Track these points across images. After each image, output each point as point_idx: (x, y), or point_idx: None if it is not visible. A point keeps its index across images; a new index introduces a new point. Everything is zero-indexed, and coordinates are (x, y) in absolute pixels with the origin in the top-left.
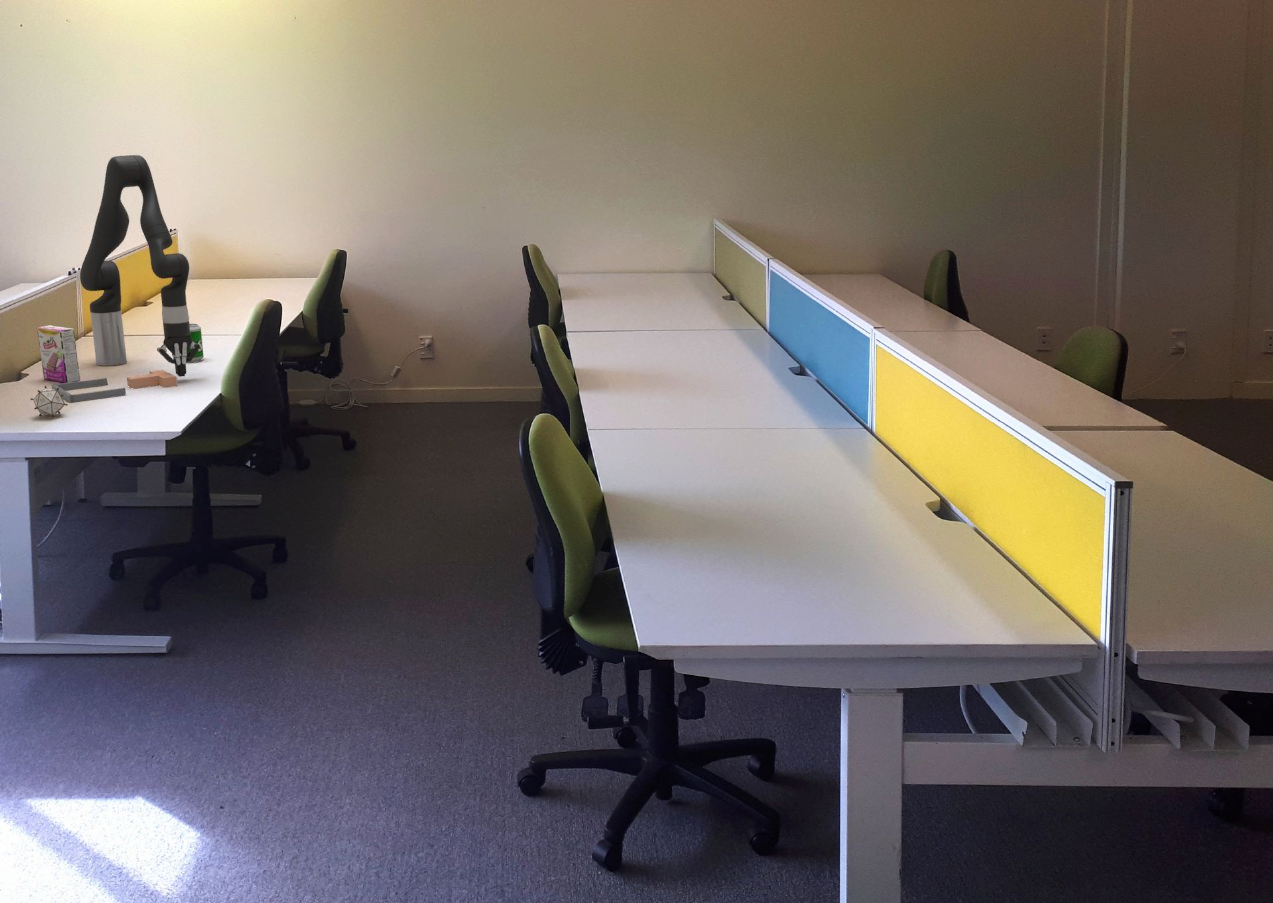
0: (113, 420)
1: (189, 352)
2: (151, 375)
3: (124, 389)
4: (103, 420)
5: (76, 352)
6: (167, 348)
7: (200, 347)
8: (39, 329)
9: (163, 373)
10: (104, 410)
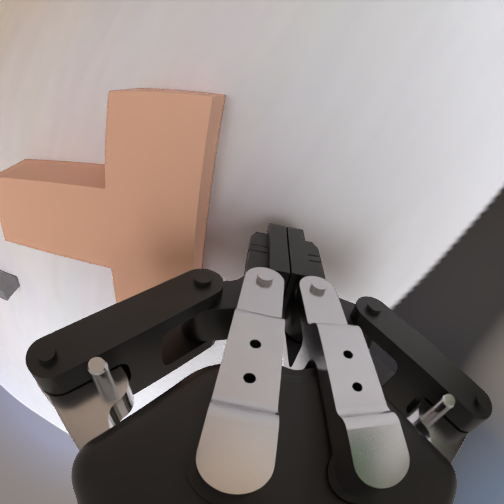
0: (32, 396)
1: (398, 369)
2: (82, 233)
3: (7, 297)
4: (19, 387)
5: None
6: (142, 411)
7: None
8: None
9: (155, 235)
10: (6, 353)
